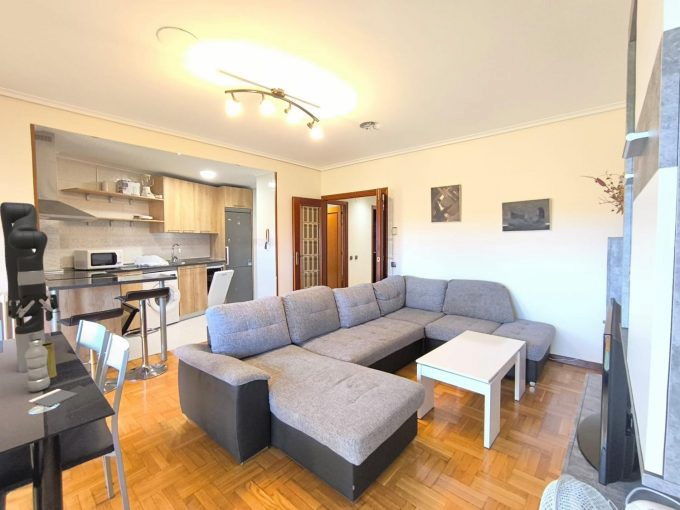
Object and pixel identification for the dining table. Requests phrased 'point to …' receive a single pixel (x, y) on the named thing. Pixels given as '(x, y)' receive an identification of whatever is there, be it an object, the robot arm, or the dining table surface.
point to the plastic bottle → (37, 366)
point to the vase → (50, 359)
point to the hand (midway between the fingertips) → (35, 323)
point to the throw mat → (53, 397)
